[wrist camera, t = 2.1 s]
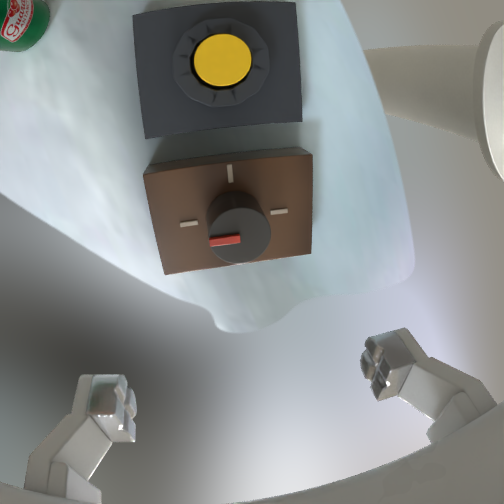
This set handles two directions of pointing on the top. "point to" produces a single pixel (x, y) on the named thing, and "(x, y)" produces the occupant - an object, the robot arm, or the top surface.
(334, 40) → the top surface
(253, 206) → the knob
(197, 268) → the dial panel
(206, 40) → the button
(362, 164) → the top surface
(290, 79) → the button box
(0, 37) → the soda can
